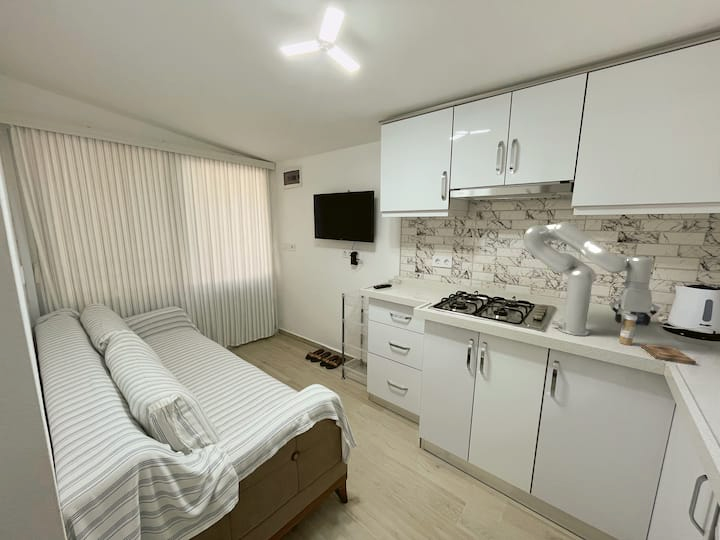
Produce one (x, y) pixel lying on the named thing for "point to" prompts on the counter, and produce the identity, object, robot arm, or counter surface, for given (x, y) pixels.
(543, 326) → the counter surface
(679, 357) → the plinth
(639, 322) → the soda can
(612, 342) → the counter surface
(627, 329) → the sprinkles bottle
